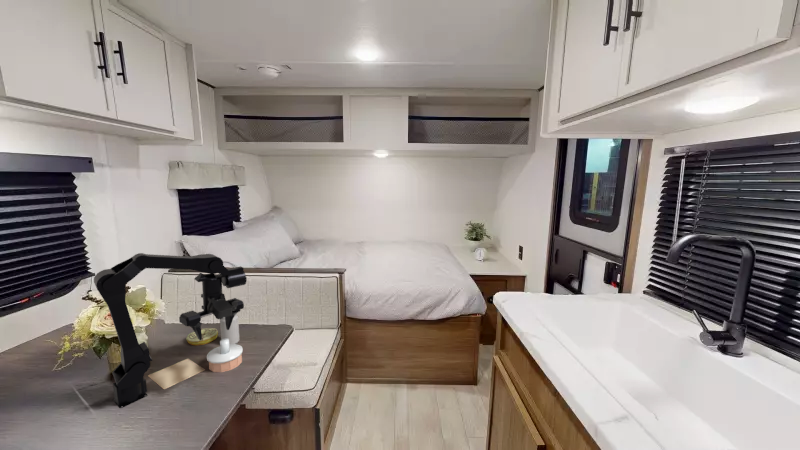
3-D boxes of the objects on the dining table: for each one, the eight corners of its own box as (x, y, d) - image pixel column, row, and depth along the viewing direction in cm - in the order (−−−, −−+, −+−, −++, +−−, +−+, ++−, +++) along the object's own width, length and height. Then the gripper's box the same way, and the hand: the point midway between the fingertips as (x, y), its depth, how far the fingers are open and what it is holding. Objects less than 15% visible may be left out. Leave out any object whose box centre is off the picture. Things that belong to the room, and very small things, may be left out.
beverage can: (234, 347, 121) (232, 318, 119) (217, 347, 121) (216, 318, 119) (242, 339, 127) (241, 311, 125) (227, 338, 127) (225, 311, 126)
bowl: (219, 377, 103) (218, 366, 102) (203, 367, 108) (203, 356, 108) (247, 362, 111) (247, 352, 111) (232, 353, 117) (231, 343, 116)
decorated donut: (202, 333, 132) (202, 324, 131) (224, 336, 129) (223, 327, 129) (180, 345, 122) (179, 336, 121) (203, 349, 119) (202, 340, 119)
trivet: (164, 391, 96) (164, 389, 96) (147, 377, 102) (147, 375, 102) (205, 371, 106) (205, 369, 106) (188, 360, 112) (187, 358, 112)
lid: (217, 367, 102) (216, 352, 101) (200, 356, 107) (199, 342, 107) (249, 352, 111) (248, 338, 110) (231, 343, 117) (230, 330, 116)
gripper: (194, 305, 93) (196, 353, 95) (252, 289, 109) (253, 331, 111) (177, 297, 99) (179, 342, 101) (234, 282, 115) (236, 322, 117)
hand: (214, 334), depth 107 cm, fingers open, 9 cm apart
